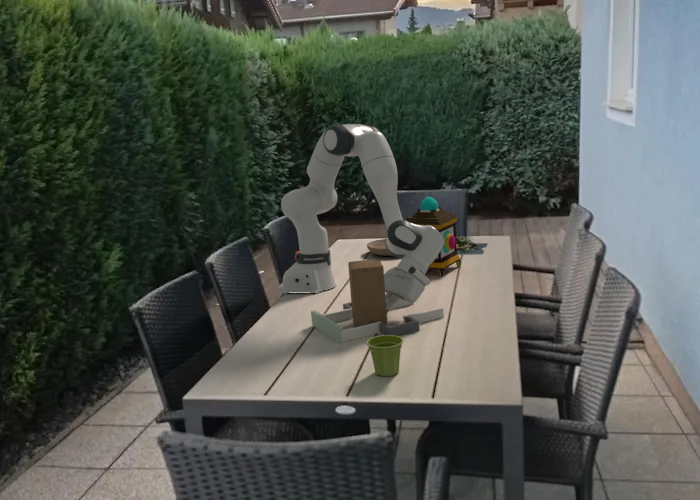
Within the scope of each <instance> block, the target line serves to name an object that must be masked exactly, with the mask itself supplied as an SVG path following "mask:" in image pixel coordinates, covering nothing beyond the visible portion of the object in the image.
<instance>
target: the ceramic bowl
mask: <svg viewBox="0 0 700 500" xmlns="http://www.w3.org/2000/svg"><path fill="white" fill-rule="evenodd" d="M385 242H386V238H383V239H377V240H373V241H370V242H368V243H367V244H366V248H367V249H368V251H370V252H371V253H373V254H375V255H377V256H383V257H393V256H392V255H391V254H390V253H389V252H388V251H387V249H386V244H385Z"/></svg>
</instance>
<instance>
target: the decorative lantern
mask: <svg viewBox="0 0 700 500" xmlns="http://www.w3.org/2000/svg"><path fill="white" fill-rule="evenodd" d="M458 218H459V216H457V215H456V214H454V213H453V212H448V211H446V210H444V209H443V208H442V207H439V204H438V201H437V200H436V199H435V198H433V197H432V196H425V198H423V200H422V201H421V202H420V208H419V209H417V211H416V212H414V214H413V215H411V216H408V217H406V219H404V220H405V221H408V222H410V223H413V224H417V225H423V226H427V225H431V226H433V227H435V228H436V229H437V230H438V231H439V232H440V233H441V235H442V236H443V239H444V244H443V247H442V249H441V251H440V252H439V254H438V255H437V257H436V259H435V260H434V261H433V262H432V263H431V264H430V265H429V267H428V269H427V270H434V271H435V270H436V271H438V272H439V274H440V277H444V276H445V275H444V274H445V269H447V268H448V267H451V266H452V265H455V264H456V267H458V268H459V267H460V266H461V263H462V262H461V257H460V255H458V254H457V248H456V237H457V231H456V229H457V228H456V226H457V225H456V224H457V220H458Z"/></svg>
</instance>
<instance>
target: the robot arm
mask: <svg viewBox="0 0 700 500" xmlns="http://www.w3.org/2000/svg"><path fill="white" fill-rule="evenodd" d="M389 144H390V143H388V140H387V138H386V136H385V135H384V134H383V133H382V132H381V131H380V130H379V129H378V128H377V127H375V126H373V125H369V124H366V125H365V124H360V123H350V124H349V123H346V124H340V123H339V124H334V125H330V126H328V127H327V128H326V130H324V132H322V134H321V136H320V138H319V139H318V141H317V143H316V145H315V147H314V150H313V152H312V154H311V156H310V157H311V158H310V160H309V162H308V164H307V168H306V174H307V175H308V177H309V183H308V185H306V186H304V187H301V188H295V189H293V190H291V191H288V192H287V193H286V194H285V195H283V196H282V199H281V200H280V201H281V204H280V206H281V207H280V208H281V210H282V213H283V215H284V216H285V217H286V218H288V219H289V220H290V221H291V222H292V223H293V226H294V227H295V230H296V232H297V239H298V246H299V251H296V252H295V254H294V261H295V263H293V264H292V265H291V266H290V267H289V268H288V269H287V270H286V271H285V272H284V274H283V277H282V283H281V284H280V285H278V286H277V293H278V294H282V295H286V294H287V293H289V292H310V293H316V292H319V293H321V292H320V291H322V292H324V291H323V290H325V291H329V290H331V288H332V289H334V288H336V286H337V284H336V283H337V282H336V281H335V279H334V275H333V271H332V266H331V265H332V255H331V250H330V249H329V239H328V231H327V229H326V228H325V227H324V226H323V225H321V224H320V222H319V219H318V216H317V215H321V214H323V213H326V212H328V211H331V209H333V208H334V207H335V206H336V205H337V203H338V193H337V190H336V189H335V182H336V179H337V177H338V174H339V171H340V169H341V167H342V163H343V162H344V159H345V157H352V158H353V157H358V159H359V160H360V164H361V168H362V170H363V174H364V176H365V179H366V180H367V183H368V185H369V187H370V188H371V191H372V193H373V195H374V197H375V199H376V202H377V203H378V205H379V209H380V212H381V214H382V215H381V216H382V219H383V222H384V226H385V230H386V236H385V239H386V242H385V244H386V249H387V251H388V252H389V253H390V254H391V255H392V256H391V257H395V258H400V259H401V260H400V261H399V263H398V264H397V265H396V266H394V267H392V268H389V269H388V270H387V271H385V272H384V282H385V297H386V307H387V308H389V309H390V308H391V307H392V305H393V304H395V303H396V302H398V300H399V299H402V300H405V301H407V302H409V303H414V304H415V303H416V302H418V301H417V300H418V299H419V298H420V297H421V295H423V293H424V291H425V288H426V287H427V286H428V285H429V284H430V282H431V280H430V279H429V278H428V277H427V275H426V273H427V271H428V270H429V269H428V267H429V265H430V264H431V263H432V262H433V261H434V260H435V259H436V257H437V255H438V254H439V252H440V251H441V249H442V247H443V244H444V239H443V236H442V235H441V233H440V232H439V231H438V230H437V229H436V228H435V227H433V226H431V225H427V226H423V225H417V224H413V223H410V222H408V221H405V220H406V219H403V216H402V213H401V212H402V211H401V210H400V206H399V203H398V183H399V182H398V180H399V177H398V167H397V164H396V160H395V157H394V154H393V152H392V149H391V146H390V145H389ZM335 285H336V286H335ZM333 287H334V288H333ZM328 289H329V290H328ZM316 294H317V293H316ZM287 295H288V294H287ZM390 310H391V309H390Z"/></svg>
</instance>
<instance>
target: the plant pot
mask: <svg viewBox="0 0 700 500" xmlns="http://www.w3.org/2000/svg"><path fill="white" fill-rule="evenodd" d="M403 343H404V338H402V337H401V336H394V335H383V334H381V335H376V336H373V337H371V338H368V339H367V340H366V345H367V347H368V349H369V351H370V355H371V358H372V364H373V369H374V372H375V375H377V376H379V375H380V376H381V377H385V378H386V377H393V376H395V375H396V374H398V373H399V372H400V360H401V348H402V345H403Z"/></svg>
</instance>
